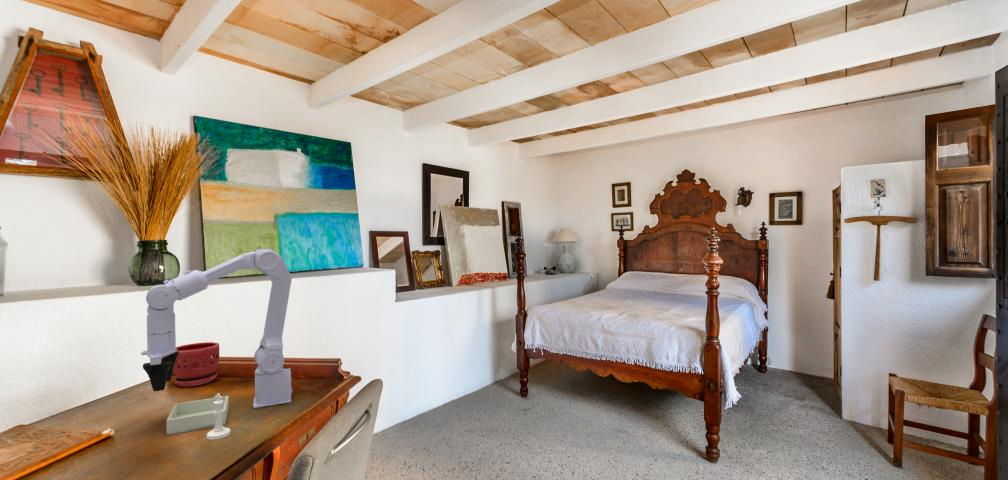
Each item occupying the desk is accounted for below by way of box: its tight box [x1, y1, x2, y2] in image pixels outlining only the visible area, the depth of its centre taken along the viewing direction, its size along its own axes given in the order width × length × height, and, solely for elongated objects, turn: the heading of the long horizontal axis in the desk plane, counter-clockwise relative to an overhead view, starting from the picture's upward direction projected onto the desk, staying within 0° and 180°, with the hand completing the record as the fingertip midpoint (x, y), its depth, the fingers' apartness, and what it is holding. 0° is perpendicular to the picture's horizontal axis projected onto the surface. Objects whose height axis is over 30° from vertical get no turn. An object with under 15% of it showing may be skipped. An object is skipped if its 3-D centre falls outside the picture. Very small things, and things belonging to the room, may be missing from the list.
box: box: [165, 395, 230, 436], centre depth 115 cm, size 12×12×4 cm
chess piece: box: [206, 393, 232, 441], centre depth 107 cm, size 5×5×10 cm
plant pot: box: [173, 341, 220, 387], centre depth 145 cm, size 13×13×12 cm
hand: (162, 385), depth 113 cm, fingers open, 7 cm apart
